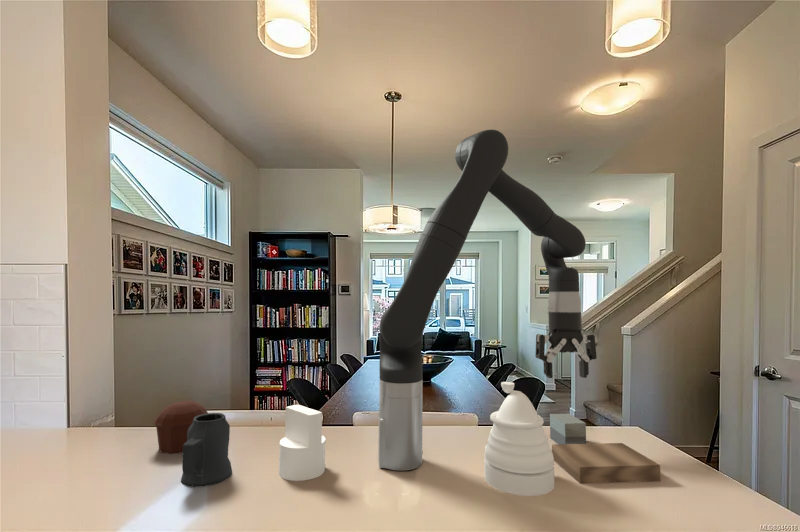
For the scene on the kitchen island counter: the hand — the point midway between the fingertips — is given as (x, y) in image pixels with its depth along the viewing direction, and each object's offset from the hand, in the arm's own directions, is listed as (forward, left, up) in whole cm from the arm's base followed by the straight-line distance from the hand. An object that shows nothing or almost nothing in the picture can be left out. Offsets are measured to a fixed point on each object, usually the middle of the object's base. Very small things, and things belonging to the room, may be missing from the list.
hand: (566, 377), depth 100 cm
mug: (-79, -15, -16) cm, 82 cm away
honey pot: (-19, -19, -16) cm, 31 cm away
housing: (0, 0, -16) cm, 16 cm away
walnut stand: (0, -15, -16) cm, 22 cm away
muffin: (-91, +3, -16) cm, 92 cm away
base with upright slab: (-61, -12, -16) cm, 64 cm away
